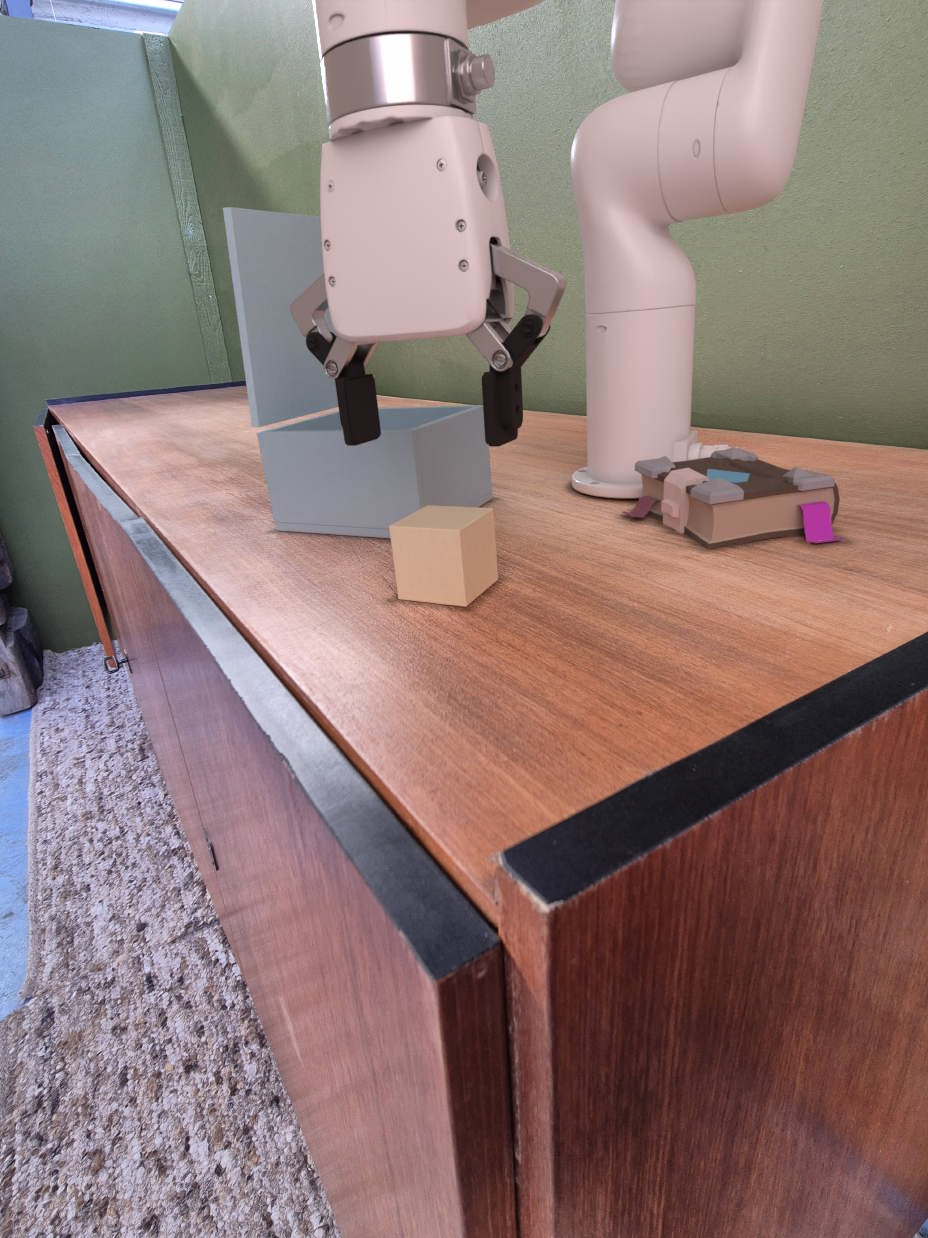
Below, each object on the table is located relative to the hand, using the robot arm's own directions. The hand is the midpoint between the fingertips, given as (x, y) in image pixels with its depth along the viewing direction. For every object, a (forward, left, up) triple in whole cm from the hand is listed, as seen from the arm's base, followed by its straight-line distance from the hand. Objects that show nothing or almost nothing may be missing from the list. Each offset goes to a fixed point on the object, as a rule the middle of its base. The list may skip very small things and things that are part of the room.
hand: (429, 442), depth 43 cm
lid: (+22, -16, +8) cm, 28 cm away
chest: (+15, -16, -10) cm, 24 cm away
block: (0, 0, -10) cm, 10 cm away
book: (-13, -20, -10) cm, 26 cm away
